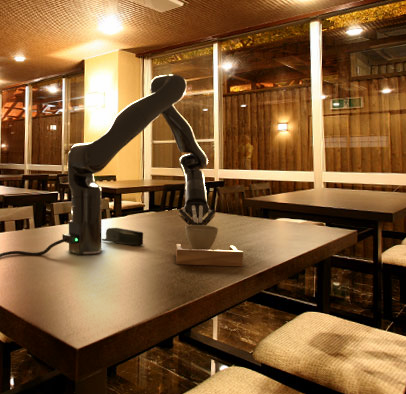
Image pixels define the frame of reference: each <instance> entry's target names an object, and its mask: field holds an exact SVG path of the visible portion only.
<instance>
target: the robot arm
mask: <svg viewBox="0 0 406 394" xmlns="http://www.w3.org/2000/svg"><path fill="white" fill-rule="evenodd" d="M186 91H187V80H186V79H185V78H184V77H183V76H182V75H180V74H164V75H159V76H155V77H154V78H153V79H152V80H151V83H150V86H149V92H150V94H149V95H146V96H145V97H142V98H140V99H138V100H136V101H133V102H132V103H130V104H128V105H127V106H126V107H125V108H123V109H122V110H121V111H120V112H119V113H117V115H116V116H115V117H114V118H113V119H112V122H111V125H110V127H109V128H108V130H107V131H106V132H105V133H103V134H102V135H101V136H100V137H99V138H97V139H95V140H93V141H92V142H84V143H76V144H74V145H73V146H72V147H71V148H70V149H69V152H68V155H67V179H68V181H67V182H68V187H69V189H70V196H71V197H70V199H71V204H70V205H71V208H70V211H71V213H70V214H71V216H70V217H71V220H69V221H68V233H62V239H59V240H57V241H54V242H52V243H51V244H49V245H48V246H47V247H46V248H45V249H44V250H42V251H37V252H33V251H32V252H30V251H25V250H23V251H22V250H10V251H5V252H1V253H0V258H1V257H5V256H11V255H22V256H42V255H43V256H44V255H45V254H47V253H48V252H49V251H50V250H51V249H52V248H54V247H56V246H58V245H59V244H63V243H66V244H68V252H70V253H73V254H76V255H78V256H83V255H96V254H100V253H102V251H103V248H102V195H103V194H102V187H101V186H100V185H99V184H98V183H97V182H96V180H95V177H94V174H98V173H100V172H102V171H103V170H104V169H105V168H106V167H107V166H108V165H109V164H110V162H111V161H113V159H114V158H115V156H117V154H118V153H119V152H120V151H121V150H122V149H124V147H126V146H127V145H128V144H129V143H130V142H131V141H133V139H135V138H136V137H137V136H138V135H140V134H141V133H142V132H143V131H144V130H145V129H147V127H148V126H149V125H150V124H152V123H153V121H155V120H156V119H158V118H159V117H160V116H161V115H162V117H163V118H164V121H165V122H166V124H167V125H168V127H169V129H170V131H171V133H172V137H173V139H174V142H175V144H176V147H177V150H178V151H179V152H180V153H182V154H183V153H185V154H184V155H181V157H179V160H178V164H179V168H180V169H181V171H182V173H183V179H184V206H183V209H181V208H179V210H178V216H179V217H180V218H181V219H182V220H183V221H184V222H185V223H186V224H187V226H190V225H205V226H208V224H209V223H210V222H211V221H212V220H213V219H214V218H215V217H216V210H215V209H210V206H209V205H208V198H207V196H208V195H207V189H206V188H207V187H206V186H205V185H206V184H205V176H204V172H203V171H202V170H203V169H206V168H207V166H208V163H209V162H208V161H209V160H208V156H207V155H206V154H205V152H204V151H203V150H202V148H201V147H200V146H199V144H198V142H197V140H196V137H195V134H194V131H193V129H192V127H191V126H190V123H188V121H187V120H186V119H185V118H184V116H182V115H181V113H180V112H179V111H178V109H177V108H176V107H175V106H174V105H176V104H177V103H178V102H179V101H181V100H182V99H183V98H184V95H186ZM205 216H206V217H205ZM204 217H205V218H204ZM203 218H204V219H203Z"/></svg>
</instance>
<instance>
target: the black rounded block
mask: <svg viewBox="0 0 406 394" xmlns="http://www.w3.org/2000/svg"><path fill="white" fill-rule="evenodd" d="M102 241H103V242H108V243H109V242H110V243H116V244H122V245H127V246H133V247H134V246H135V247H137V246H138V247H139V246H143V245H144V232H143V231H139V230H133V229H127V228H120V227H109V228H107V229H106V230H105V238H101V242H102Z"/></svg>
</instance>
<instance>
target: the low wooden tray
mask: <svg viewBox="0 0 406 394" xmlns="http://www.w3.org/2000/svg"><path fill="white" fill-rule="evenodd" d="M175 256H176V264H177V265H190V266H191V265H192V266H193V265H195V266H216V267H217V266H218V267H219V266H221V267H243V266H244V265H243V263H244V251H243V250H238V249H237V247H236V246H235V245H229V250H227V249H209V250H201V249H192V248H182V245H181V243H176V245H175Z"/></svg>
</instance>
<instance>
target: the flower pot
mask: <svg viewBox="0 0 406 394" xmlns="http://www.w3.org/2000/svg"><path fill="white" fill-rule="evenodd" d="M184 228H185V229H184V230H185V235H186V238H187V241H188V244H189V245H190V248H191V249H201V250H211V249H212V247H213V245H214V243H215V241H216V239H217V236H218V231H219V228H218V227H216V226H212V225H185V227H184Z"/></svg>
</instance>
